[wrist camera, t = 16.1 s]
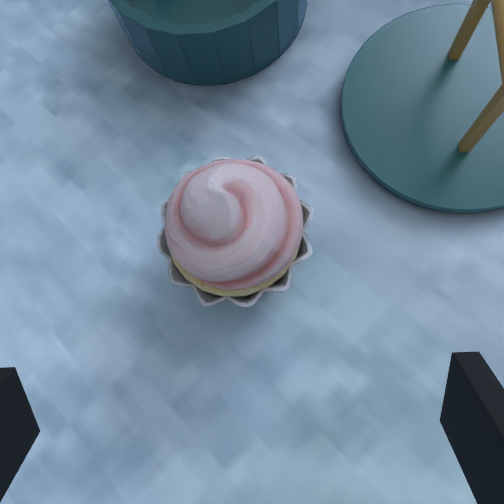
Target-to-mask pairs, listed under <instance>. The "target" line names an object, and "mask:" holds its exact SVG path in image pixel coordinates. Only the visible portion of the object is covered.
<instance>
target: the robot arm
mask: <svg viewBox="0 0 504 504" xmlns="http://www.w3.org/2000/svg"><path fill="white" fill-rule="evenodd" d="M440 422H441V424H442V426H443V429H444V431H445V433H446V435H447V438H448V440H449V442H450V444H451V446H452V449H453V451H454V453H455V455H456V457H457V460H458V462H459V464H460V466H461V468H462V471H463V473H464V475H465V477H466V479H467V482H468V484H469V486H470V488H471V490H472V493H473V495H474V497H475V499H476V502H477V504H504V388H503V387H502V385H501V384H500V382H499V381H498V379H497V378H496V376H495V375H494V373H493V372H492V370H491V369H490V367H489V366H488V364H487V363H486V361H485V360H484V358H483V357H482V355H481V354H480V353H479V352H455V353H452V356H451V361H450V367H449V372H448V378H447V384H446V389H445V395H444V401H443V406H442V412H441V417H440ZM39 432H40V429H39V427H38V424H37V422H36V419H35V417H34V414H33V412H32V409H31V406H30V404H29V401H28V399H27V396H26V394H25V391H24V389H23V386H22V384H21V381H20V379H19V376H18V374H17V371H16V368H15V367H8V368H0V502H1V500H2V498H3V496H4V495H5V493H6V491H7V489H8V488H9V486H10V484H11V482H12V480H13V479H14V477H15V475H16V473H17V472H18V470H19V468H20V466H21V464H22V463H23V461H24V459H25V457H26V455H27V454H28V452H29V450H30V448H31V447H32V445H33V443H34V441H35V439H36V438H37V436H38V434H39Z"/></svg>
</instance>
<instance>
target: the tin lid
mask: <svg viewBox="0 0 504 504" xmlns="http://www.w3.org/2000/svg"><path fill="white" fill-rule="evenodd" d="M490 1H491V6H492V8H489V7H488V5H489V3H490ZM341 118H342V125H343V128H344V132H345V136H346V138H347V141H348V143H349V145H350V148H351V150H352V151H353V153H354V155H355V156H356V158H357V160H358V161H359V162H360V164H361V165H362V166H363V167H364V169H365V170H366V171H367V172H368V173H369V174H370V175H371V176H372V177H373V178H374V179H375V180H376V181H377V182H378V183H380V184H381V185H382V186H384V187H385V188H387V189H388V190H389V191H391V192H392V193H394V194H396V195H398V196H400V197H401V198H403V199H405V200H408V201H410V202H412V203H415V204H417V205H420V206H423V207H427V208H431V209H434V210H440V211H446V212H458V213H472V212H484V211H489V210H494V209H499V208H502V207H504V0H473V2H472V4H471V5H469V4H446V5H437V6H431V7H427V8H423V9H419V10H416V11H413V12H410V13H407V14H405V15H403V16H401V17H399V18H397V19H394V20H393V21H391V22H389V23H388V24H386V25H385V26H383V27H382V28H380V29H379V30H378V31H377V32H376V33H374V34H373V35H372V36H371V37H370V38H369V39H368V40H367V41H366V42H365V43H364V44H363V46H362V47H361V48H360V50H359V51H358V52H357V54H356V55H355V57H354V58H353V60H352V62H351V64H350V66H349V68H348V71H347V74H346V77H345V80H344V84H343V89H342V95H341Z"/></svg>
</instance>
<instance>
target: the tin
mask: <svg viewBox="0 0 504 504" xmlns="http://www.w3.org/2000/svg"><path fill="white" fill-rule="evenodd" d="M108 2H109V4H110V6H111V8H112V10H113V12H114V13H115V15H116V17H117V19H118V21H119V23H120V25H121V26H122V28H123V30H124V32H125V34H126V36H127V38H128V40H129V41H130V43H131V44H132V45H133V47H134V49H135V50H136V51H137V53H138V54H139V56H140V57H141V58H142V59H143V60H144V61H145V62H146V63H147V64H148V65H149V66H150V67H151V68H153V69H154V70H155V71H157V72H159V73H160V74H162V75H164V76H166V77H168V78H171V79H173V80H176V81H179V82H183V83H187V84H195V85H217V84H225V83H229V82H234V81H237V80H240V79H243V78H246V77H249V76H251V75H253V74H255V73H257V72H259V71H261V70H262V69H264V68H265V67H267V66H268V65H270V64H271V63H272V62H274V61H275V60H276V59H277V58H279V57H280V56H281V55H282V54H283V52H284V51H285V50H286V49H287V48H288V47H289V46H290V44H291V43H292V42H293V40H294V39H295V37H296V35H297V33H298V32H299V30H300V28H301V25H302V22H303V20H304V16H305V11H306V7H307V0H108Z"/></svg>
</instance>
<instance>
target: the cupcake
mask: <svg viewBox="0 0 504 504" xmlns="http://www.w3.org/2000/svg"><path fill="white" fill-rule="evenodd" d="M160 215H161V217H162V220H163V223H164V227H163V229H162V230H161V232H160V233H159V235H158V237H157V246H158V249H159V252H160V253H161V254H163V255H164V256H165V257H166V258H168V259H169V277H170V281H171V282H172V283H174V284H176V285H179V286H186V287H192V288H193V290H194V292H195V294H196V296H197V298H198V299H199V301H200V303H201V304H202V305H203V306H204V307H205V306H212V305H214V304H217V303H219V302H221V301H224V300H226V299H228V300H229V301H231V302H233V303H234V304H236V305H238V306H240V307H250V306H251V305H253V304H255V303H256V302H257V300H258V299H259V298H260V297H261V295H262V294H263V293H264V292H276V291H285V290H288V289H289V287H290V285H291V279H292V271H293V266H295V265H296V264H298V263H300V262H302V261H303V260H305V259H307V258H308V257H309V256H310V255H311V254H312V246H311V244H310V242H309V240H308V238H307V235H306V233H305V230H306V228H307V227H308V225H309V223H310V222H311V220H312V218H313V215H314V210H313V209H312V208H311V206H309V205H308V204H306V203H305V202H303V201H302V200H300V199H299V198H298V196H297V181H296V178H295V176H294V175H291V174H287V173H278V172H277V171H275V170H274V169H272V168H271V167H269V166H268V164H267V163H266V161H265V159H263V158H262V157H261V156H254V157H252V158H249V159H247V160H240V159H231V158H229V157H225V156H219V157H217V158H216V159H214V160H213V161H212V162H211V163H209V164H206V165H203V166H201V167H199V168H197V169H195V170H193V171H189V172H186V173H184V174H183V175H182V177H181V179H180V182H179V183H178V184H177V185H176V186H175V188H174V190H173V192H172V194H171V196H170V198H168V199H166V201H165V202H164V203H163V204H162V205H161V213H160Z"/></svg>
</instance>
